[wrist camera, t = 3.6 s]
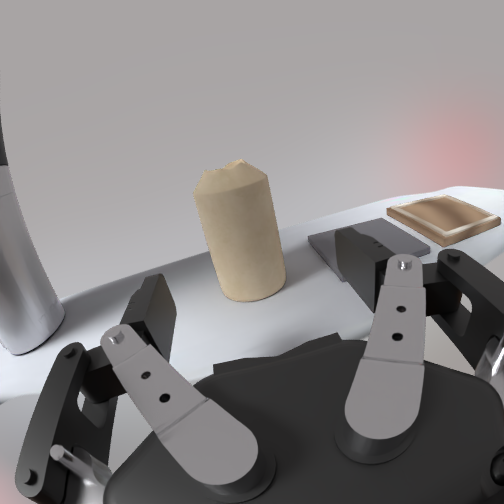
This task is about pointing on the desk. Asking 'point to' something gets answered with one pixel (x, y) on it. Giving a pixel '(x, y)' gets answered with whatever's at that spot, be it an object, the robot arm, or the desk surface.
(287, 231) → the desk surface
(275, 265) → the candle
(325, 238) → the pad
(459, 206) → the board
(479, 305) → the robot arm
